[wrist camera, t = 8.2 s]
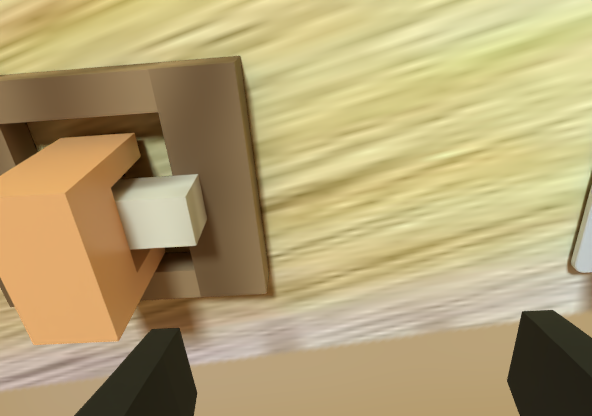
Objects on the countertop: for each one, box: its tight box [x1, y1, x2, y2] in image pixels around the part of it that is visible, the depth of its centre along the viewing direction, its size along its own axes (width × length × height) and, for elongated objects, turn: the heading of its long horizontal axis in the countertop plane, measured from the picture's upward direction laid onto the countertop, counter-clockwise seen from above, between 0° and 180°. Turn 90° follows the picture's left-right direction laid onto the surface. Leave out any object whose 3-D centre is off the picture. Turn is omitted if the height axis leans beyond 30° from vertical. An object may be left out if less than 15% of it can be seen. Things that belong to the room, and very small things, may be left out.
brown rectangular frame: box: [0, 56, 269, 307], centre depth 17 cm, size 12×10×4 cm
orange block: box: [0, 133, 166, 345], centre depth 16 cm, size 3×6×6 cm, turn 4°
